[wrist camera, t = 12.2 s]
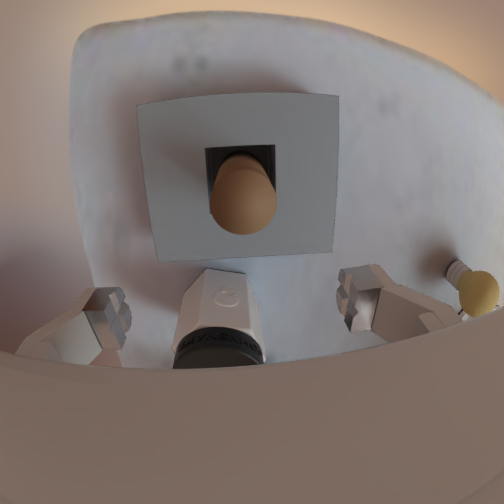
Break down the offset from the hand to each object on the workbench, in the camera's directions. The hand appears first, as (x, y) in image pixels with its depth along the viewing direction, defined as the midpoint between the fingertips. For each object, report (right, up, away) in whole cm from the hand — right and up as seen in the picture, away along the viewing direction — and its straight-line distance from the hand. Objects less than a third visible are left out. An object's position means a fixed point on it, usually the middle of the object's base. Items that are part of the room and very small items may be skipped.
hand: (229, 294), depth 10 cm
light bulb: (+31, -1, +24) cm, 39 cm away
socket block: (0, +10, +16) cm, 19 cm away
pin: (0, +9, +15) cm, 18 cm away
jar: (-3, -4, +23) cm, 24 cm away
